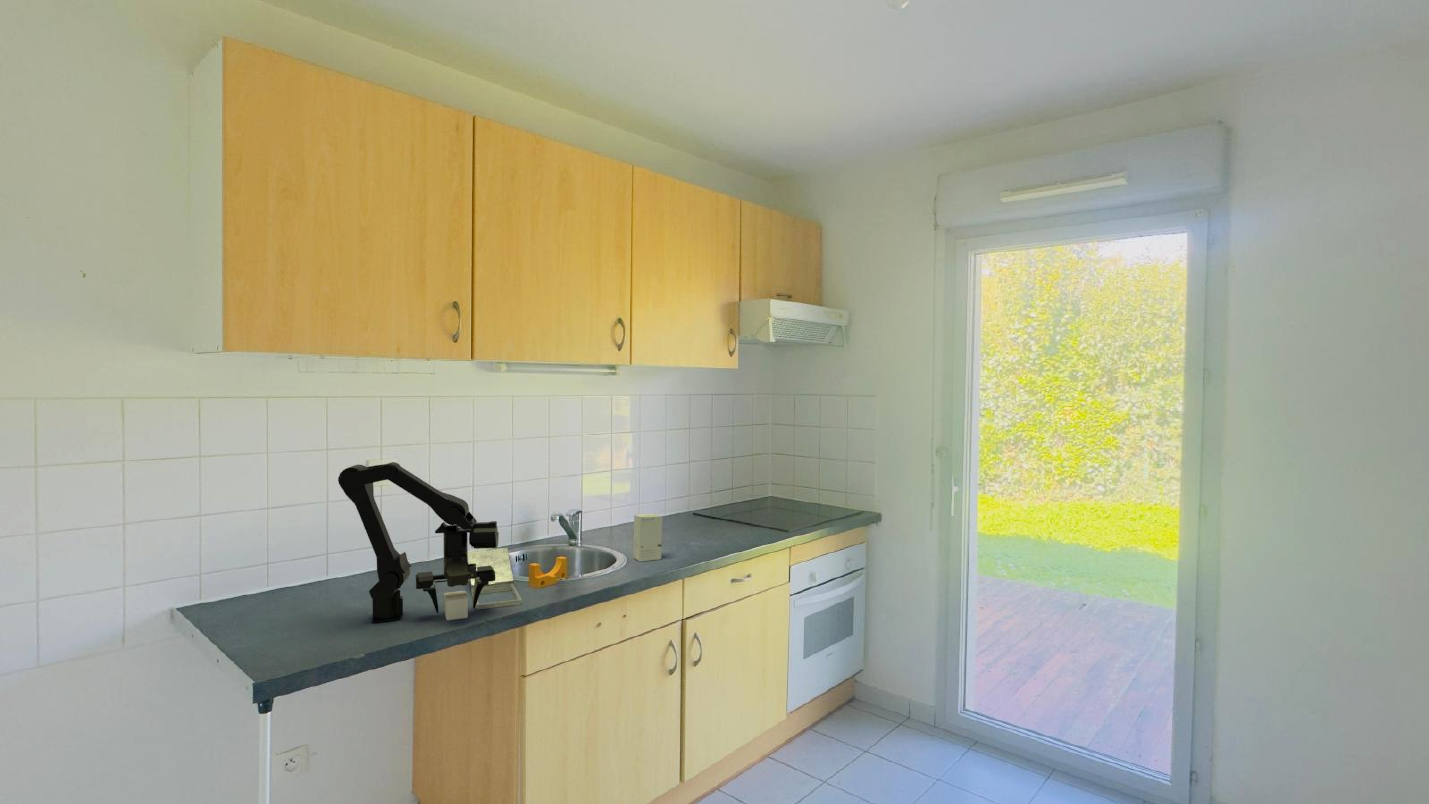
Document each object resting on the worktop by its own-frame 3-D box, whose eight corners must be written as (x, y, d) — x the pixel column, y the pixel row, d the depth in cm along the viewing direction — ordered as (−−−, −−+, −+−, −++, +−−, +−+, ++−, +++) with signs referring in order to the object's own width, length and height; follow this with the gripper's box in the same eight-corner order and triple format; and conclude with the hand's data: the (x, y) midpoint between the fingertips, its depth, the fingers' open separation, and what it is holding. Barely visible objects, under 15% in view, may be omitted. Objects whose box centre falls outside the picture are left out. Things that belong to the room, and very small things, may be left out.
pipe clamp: (538, 589, 202) (538, 566, 202) (528, 586, 205) (528, 564, 204) (571, 580, 211) (571, 558, 211) (561, 577, 214) (561, 556, 214)
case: (477, 609, 183) (476, 575, 183) (467, 581, 208) (467, 551, 208) (521, 604, 188) (521, 570, 188) (507, 577, 213) (507, 547, 212)
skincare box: (639, 562, 232) (639, 517, 231) (632, 558, 237) (632, 514, 237) (662, 559, 236) (663, 515, 235) (655, 555, 241) (655, 512, 241)
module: (446, 620, 175) (446, 600, 175) (444, 612, 182) (444, 592, 181) (467, 618, 177) (467, 597, 177) (464, 609, 184) (464, 589, 183)
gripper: (416, 560, 168) (416, 625, 168) (498, 553, 175) (498, 615, 176) (415, 550, 178) (415, 611, 178) (492, 543, 186) (492, 602, 186)
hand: (455, 610), depth 179 cm, fingers open, 8 cm apart
